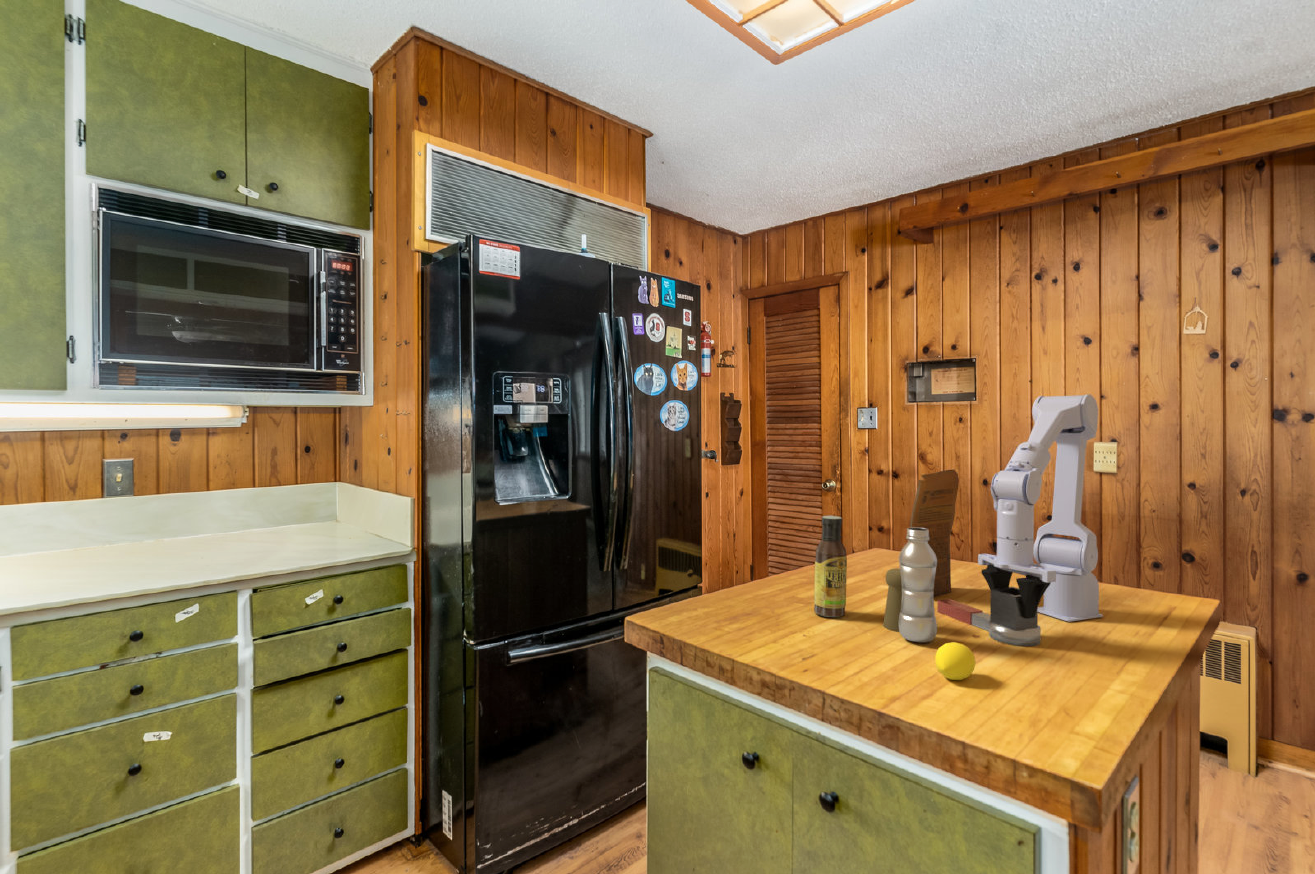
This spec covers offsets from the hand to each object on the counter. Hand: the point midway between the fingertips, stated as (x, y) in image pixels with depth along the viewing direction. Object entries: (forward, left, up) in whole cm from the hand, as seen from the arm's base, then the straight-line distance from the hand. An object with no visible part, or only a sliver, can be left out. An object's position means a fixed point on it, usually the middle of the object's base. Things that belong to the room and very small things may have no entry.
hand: (1014, 612), depth 111 cm
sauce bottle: (+23, -23, -5) cm, 33 cm away
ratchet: (0, -7, -5) cm, 8 cm away
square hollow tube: (0, 0, -2) cm, 2 cm away
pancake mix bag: (-7, -28, -5) cm, 29 cm away
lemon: (+23, +10, -5) cm, 26 cm away
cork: (+15, -12, -5) cm, 20 cm away
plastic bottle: (+17, -5, -5) cm, 18 cm away
